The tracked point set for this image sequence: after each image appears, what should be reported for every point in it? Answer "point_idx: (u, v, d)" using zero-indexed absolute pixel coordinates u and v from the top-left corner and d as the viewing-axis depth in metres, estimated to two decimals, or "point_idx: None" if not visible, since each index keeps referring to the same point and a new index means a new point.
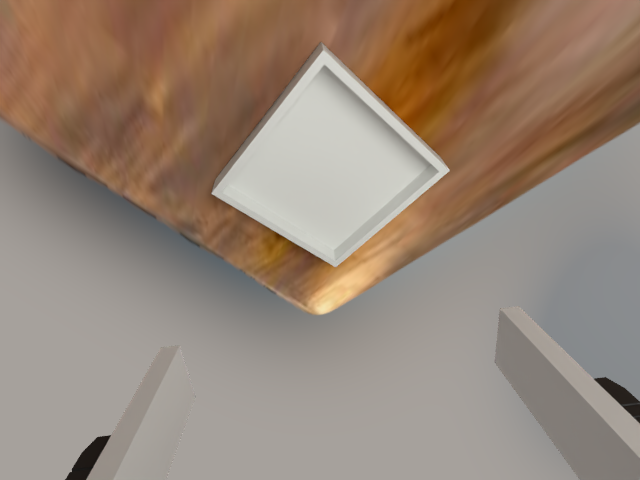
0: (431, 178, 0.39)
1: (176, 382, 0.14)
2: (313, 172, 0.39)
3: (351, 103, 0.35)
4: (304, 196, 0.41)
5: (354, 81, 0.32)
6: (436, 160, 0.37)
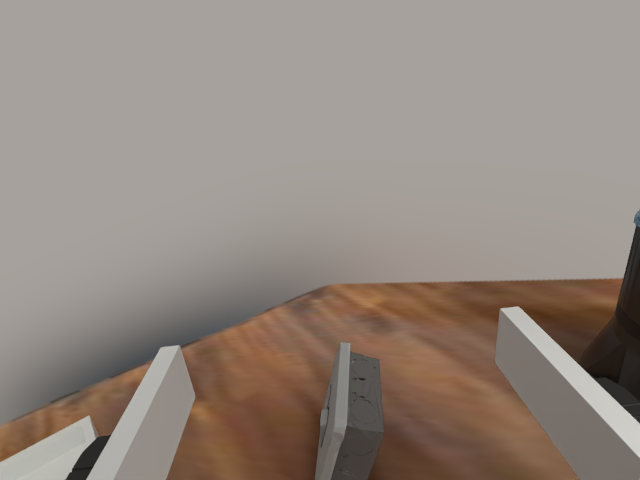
0: None
1: (176, 382, 0.14)
2: None
3: None
4: None
5: None
6: None
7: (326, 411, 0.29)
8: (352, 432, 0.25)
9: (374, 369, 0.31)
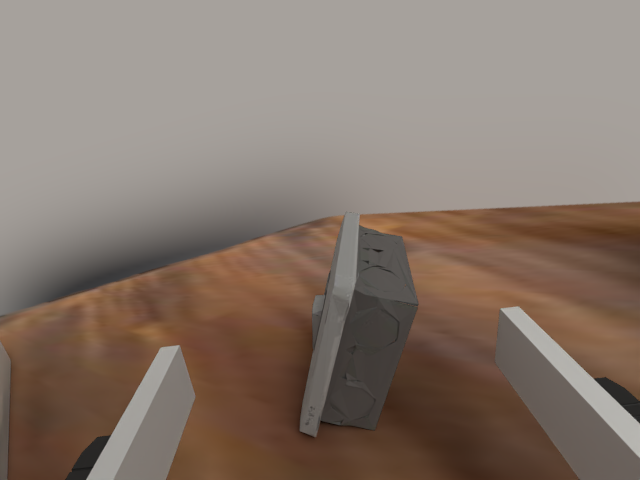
0: None
1: (176, 382, 0.14)
2: None
3: None
4: None
5: None
6: None
7: (322, 296, 0.19)
8: (364, 304, 0.15)
9: (395, 243, 0.21)
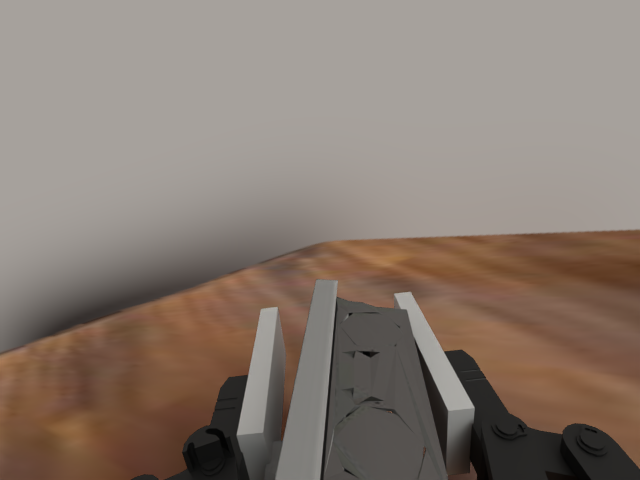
0: None
1: (279, 338, 0.15)
2: None
3: None
4: None
5: None
6: None
7: None
8: None
9: (398, 329, 0.13)
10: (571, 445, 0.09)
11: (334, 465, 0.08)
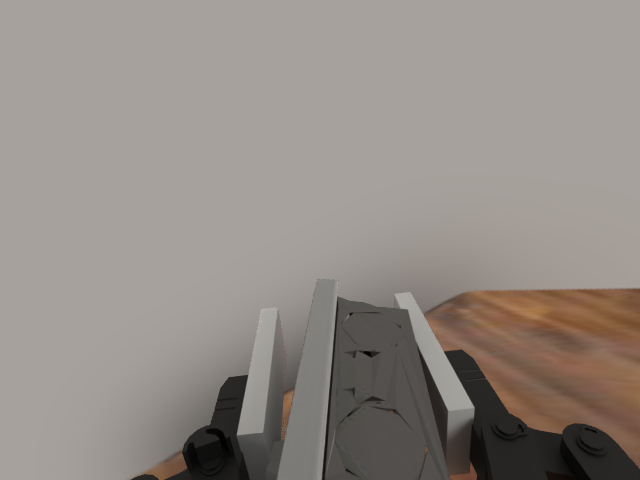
0: None
1: (279, 338, 0.15)
2: None
3: None
4: None
5: None
6: None
7: None
8: None
9: (398, 329, 0.13)
10: (571, 445, 0.09)
11: (335, 465, 0.08)
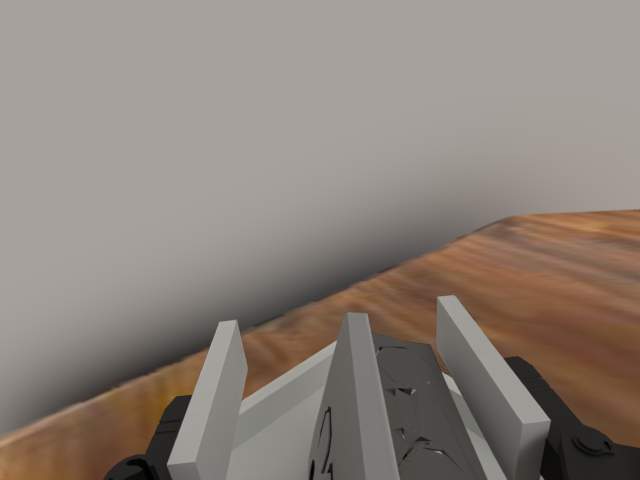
0: None
1: (236, 352, 0.15)
2: None
3: None
4: (306, 479, 0.18)
5: None
6: None
7: (326, 479, 0.11)
8: None
9: (427, 365, 0.14)
10: None
11: None
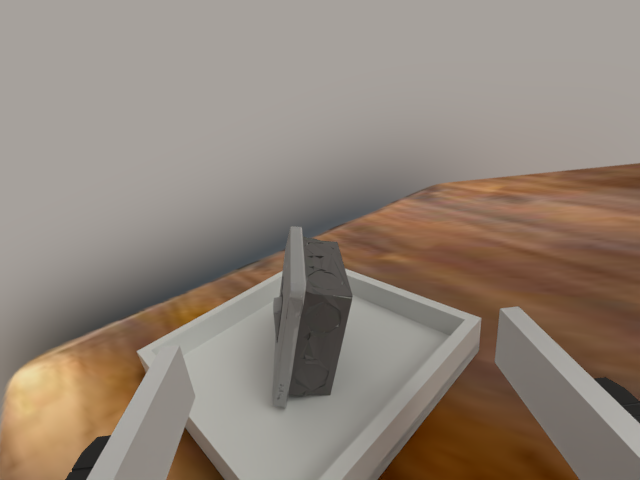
0: None
1: (176, 382, 0.14)
2: None
3: (413, 373, 0.24)
4: None
5: (454, 346, 0.23)
6: None
7: (279, 298, 0.24)
8: (314, 301, 0.20)
9: (332, 249, 0.26)
10: None
11: (308, 284, 0.21)
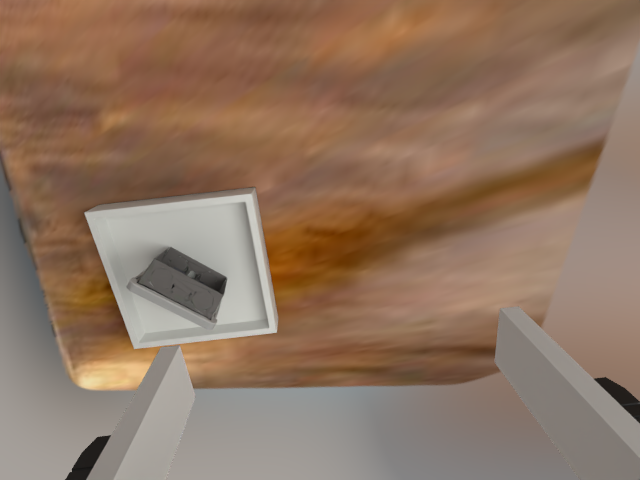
0: (261, 329, 0.45)
1: (176, 382, 0.14)
2: None
3: (245, 237, 0.42)
4: None
5: (256, 226, 0.40)
6: (272, 318, 0.44)
7: None
8: (213, 311, 0.37)
9: (165, 270, 0.35)
10: None
11: (203, 312, 0.36)
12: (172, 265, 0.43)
